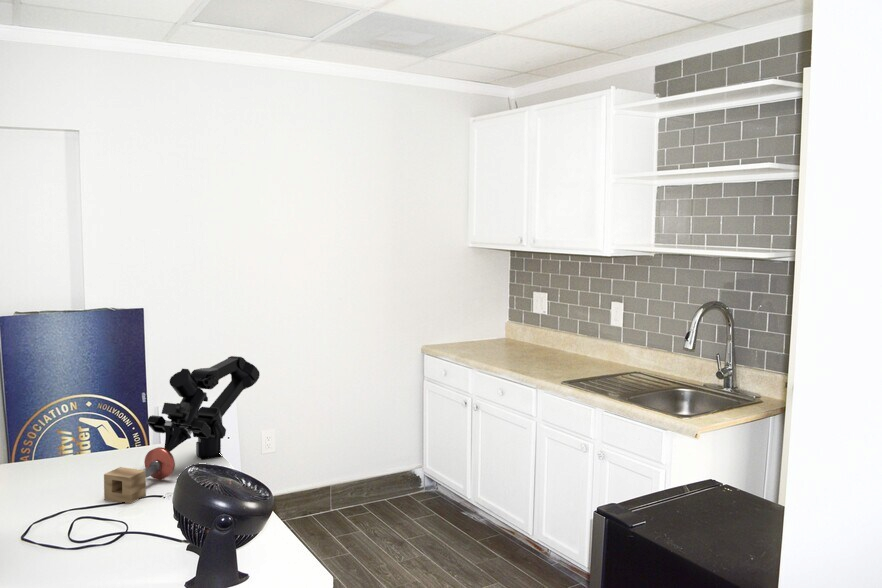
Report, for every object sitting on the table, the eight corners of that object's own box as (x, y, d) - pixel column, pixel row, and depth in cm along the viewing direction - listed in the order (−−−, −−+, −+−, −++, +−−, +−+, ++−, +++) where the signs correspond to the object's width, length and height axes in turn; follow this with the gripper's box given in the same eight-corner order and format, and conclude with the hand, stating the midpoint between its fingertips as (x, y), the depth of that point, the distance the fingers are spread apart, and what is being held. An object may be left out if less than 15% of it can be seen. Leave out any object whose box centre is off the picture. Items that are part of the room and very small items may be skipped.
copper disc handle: (148, 475, 200) (148, 445, 199) (174, 479, 197) (174, 449, 197) (121, 488, 189) (121, 457, 189) (149, 492, 187) (149, 460, 186)
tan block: (120, 491, 188) (120, 466, 188) (145, 495, 186) (145, 470, 186) (104, 499, 183) (103, 474, 182) (130, 503, 180) (129, 477, 180)
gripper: (150, 388, 206) (124, 434, 196) (205, 393, 201) (181, 441, 191) (167, 408, 214) (143, 454, 205) (221, 414, 209) (198, 461, 200)
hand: (165, 452), depth 200 cm, fingers closed
